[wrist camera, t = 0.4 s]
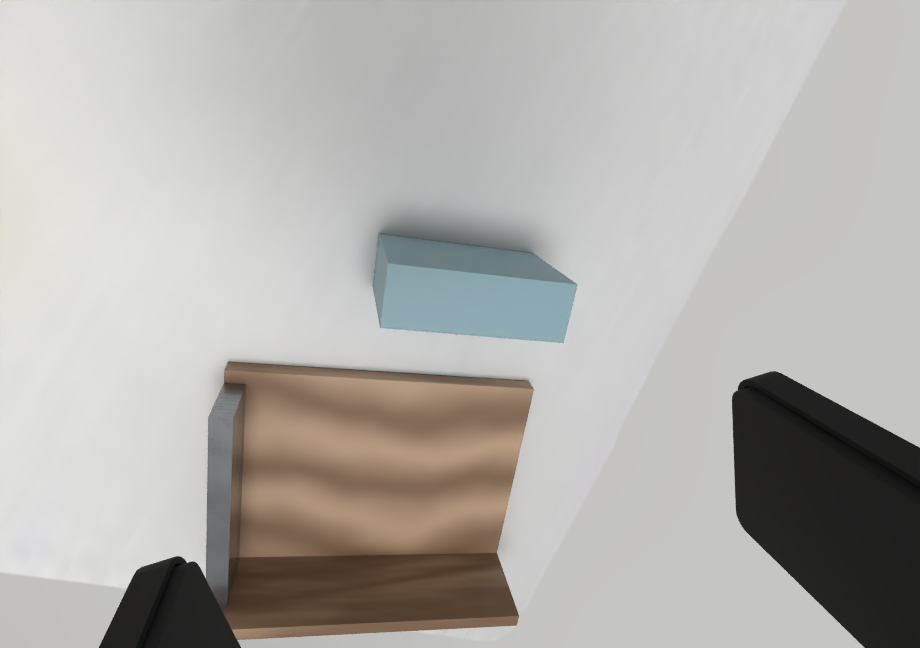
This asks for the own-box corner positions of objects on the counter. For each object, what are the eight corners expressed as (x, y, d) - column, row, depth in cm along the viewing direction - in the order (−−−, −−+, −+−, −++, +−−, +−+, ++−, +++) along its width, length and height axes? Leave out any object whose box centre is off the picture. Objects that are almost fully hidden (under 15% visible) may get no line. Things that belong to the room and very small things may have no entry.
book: (378, 233, 40) (388, 263, 31) (531, 252, 42) (577, 284, 34) (372, 285, 41) (380, 327, 33) (521, 300, 44) (563, 343, 35)
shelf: (228, 361, 41) (201, 419, 33) (528, 381, 46) (565, 433, 38) (223, 553, 46) (198, 641, 38) (490, 549, 52) (516, 625, 44)
